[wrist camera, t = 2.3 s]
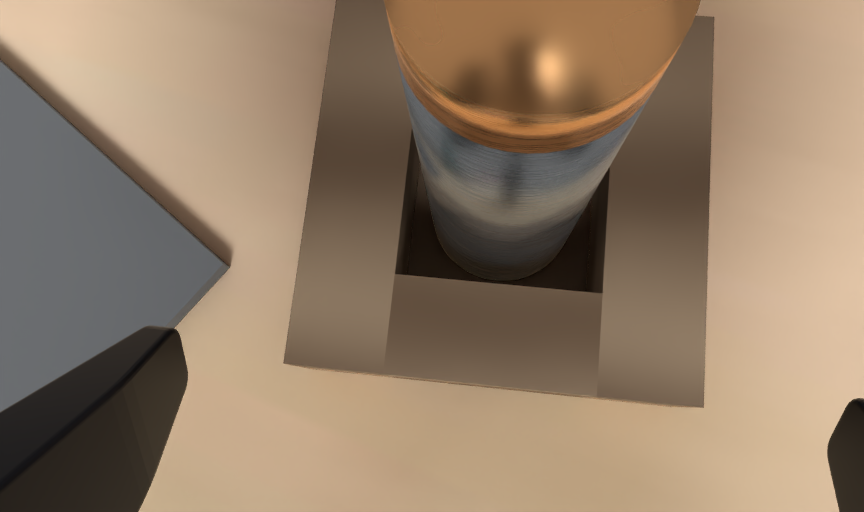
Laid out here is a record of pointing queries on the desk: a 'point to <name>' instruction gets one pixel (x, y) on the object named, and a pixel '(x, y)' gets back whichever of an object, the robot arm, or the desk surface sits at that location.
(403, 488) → the desk surface
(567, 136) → the amber topped metal pillar
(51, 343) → the mat
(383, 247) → the brown square frame
